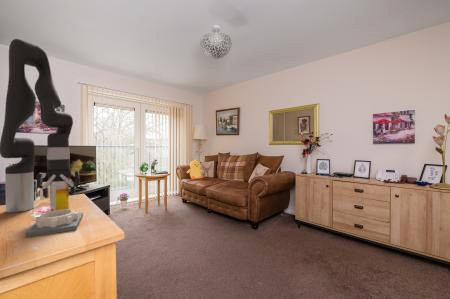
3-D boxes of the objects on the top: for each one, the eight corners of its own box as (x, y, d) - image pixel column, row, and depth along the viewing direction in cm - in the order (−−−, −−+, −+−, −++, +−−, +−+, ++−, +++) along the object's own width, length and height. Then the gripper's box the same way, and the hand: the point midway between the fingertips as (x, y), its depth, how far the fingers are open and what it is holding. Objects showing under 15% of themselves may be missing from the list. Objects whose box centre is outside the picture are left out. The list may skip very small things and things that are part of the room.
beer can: (72, 213, 91) (71, 179, 90) (59, 218, 85) (59, 182, 84) (59, 213, 91) (59, 179, 91) (46, 217, 85) (46, 181, 85)
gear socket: (41, 221, 81) (41, 210, 81) (83, 215, 88) (82, 205, 87) (25, 237, 67) (25, 223, 67) (76, 229, 73) (76, 217, 73)
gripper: (80, 157, 94) (81, 192, 94) (39, 158, 87) (40, 196, 87) (77, 158, 87) (78, 196, 87) (33, 159, 81) (34, 200, 81)
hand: (59, 196), depth 87 cm, fingers open, 8 cm apart
